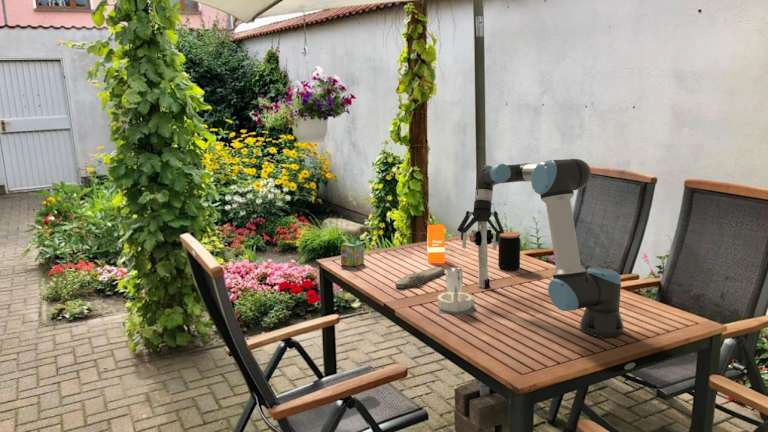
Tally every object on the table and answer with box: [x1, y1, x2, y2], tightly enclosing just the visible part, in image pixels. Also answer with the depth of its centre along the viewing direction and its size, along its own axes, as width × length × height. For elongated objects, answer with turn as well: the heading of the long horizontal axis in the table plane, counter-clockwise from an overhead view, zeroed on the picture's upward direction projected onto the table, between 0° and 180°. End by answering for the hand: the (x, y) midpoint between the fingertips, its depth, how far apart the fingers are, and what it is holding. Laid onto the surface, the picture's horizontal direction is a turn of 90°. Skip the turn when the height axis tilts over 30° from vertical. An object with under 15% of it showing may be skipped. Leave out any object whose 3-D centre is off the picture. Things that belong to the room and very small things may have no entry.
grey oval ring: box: [438, 299, 475, 315], centre depth 249 cm, size 18×14×1 cm
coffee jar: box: [498, 231, 521, 272], centre depth 301 cm, size 11×11×18 cm
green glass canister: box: [340, 236, 365, 267], centre depth 318 cm, size 9×9×15 cm
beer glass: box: [445, 266, 464, 302], centre depth 247 cm, size 7×7×15 cm
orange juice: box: [426, 224, 446, 264], centre depth 319 cm, size 8×9×20 cm
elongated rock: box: [395, 266, 446, 289], centre depth 288 cm, size 35×5×10 cm
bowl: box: [437, 291, 473, 312], centre depth 248 cm, size 14×14×4 cm
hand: (478, 248), depth 256 cm, fingers open, 13 cm apart
